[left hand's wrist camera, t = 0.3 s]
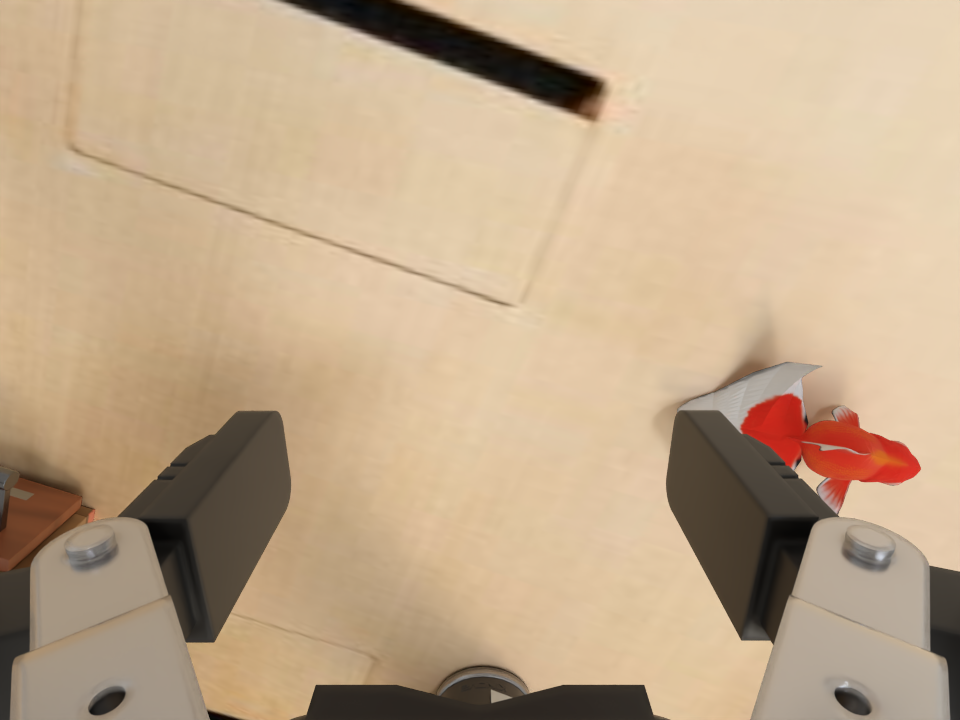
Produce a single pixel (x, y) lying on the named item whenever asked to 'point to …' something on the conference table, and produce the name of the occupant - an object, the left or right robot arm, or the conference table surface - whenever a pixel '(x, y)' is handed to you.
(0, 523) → the drawer
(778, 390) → the fish
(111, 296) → the conference table surface
